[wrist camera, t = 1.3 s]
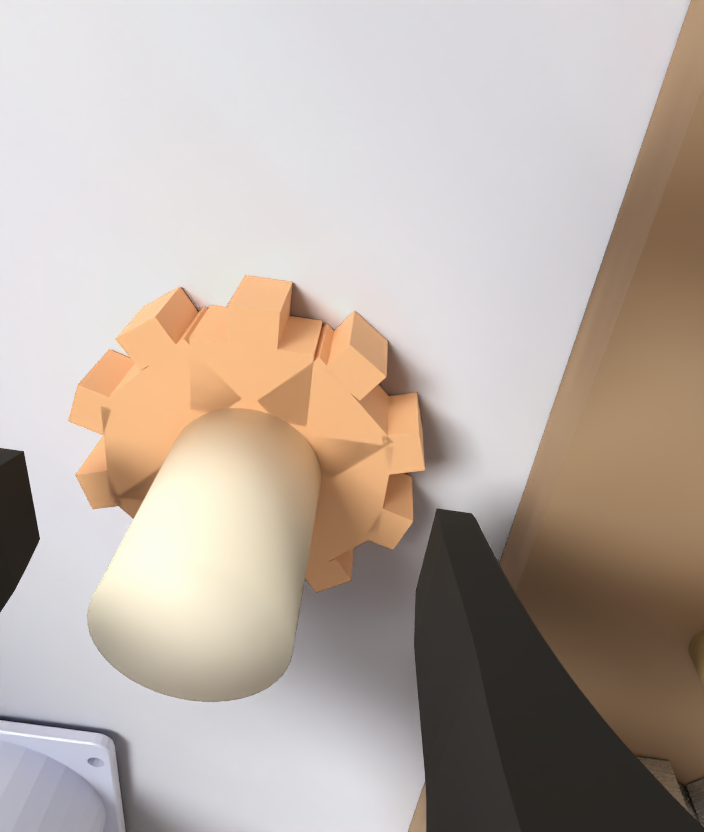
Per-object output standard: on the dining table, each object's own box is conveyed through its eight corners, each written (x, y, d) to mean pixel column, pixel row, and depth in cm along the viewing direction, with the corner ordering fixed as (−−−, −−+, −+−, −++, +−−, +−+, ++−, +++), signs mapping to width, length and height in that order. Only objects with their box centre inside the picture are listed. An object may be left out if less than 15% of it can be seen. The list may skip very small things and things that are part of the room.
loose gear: (391, 567, 16) (389, 796, 11) (113, 529, 16) (-7, 744, 11) (449, 304, 12) (481, 480, 8) (86, 252, 12) (-111, 398, 7)
